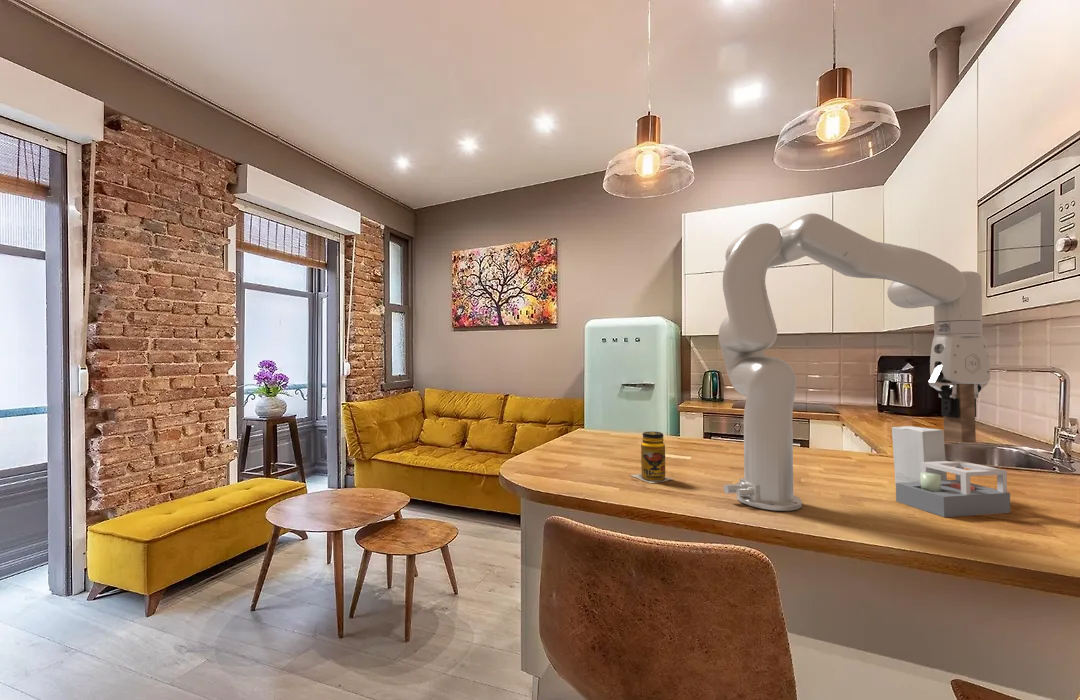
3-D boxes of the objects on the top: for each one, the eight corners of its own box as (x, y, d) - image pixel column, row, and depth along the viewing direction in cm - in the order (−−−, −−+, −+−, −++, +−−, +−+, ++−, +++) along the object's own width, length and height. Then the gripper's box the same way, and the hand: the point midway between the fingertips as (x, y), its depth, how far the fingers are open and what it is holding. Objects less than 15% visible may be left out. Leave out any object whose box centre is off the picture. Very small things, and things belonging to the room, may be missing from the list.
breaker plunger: (965, 503, 93) (964, 487, 93) (946, 498, 97) (946, 483, 97) (979, 502, 94) (979, 486, 94) (960, 497, 97) (960, 482, 97)
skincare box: (948, 495, 103) (947, 430, 103) (925, 496, 102) (924, 430, 102) (913, 485, 111) (912, 424, 111) (891, 486, 110) (891, 425, 110)
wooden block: (961, 442, 93) (959, 375, 94) (944, 439, 97) (942, 374, 97) (975, 442, 94) (973, 375, 94) (957, 439, 97) (955, 374, 98)
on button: (932, 494, 92) (931, 476, 92) (916, 490, 95) (916, 472, 95) (945, 494, 93) (944, 476, 93) (929, 489, 96) (929, 472, 96)
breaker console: (944, 517, 88) (943, 474, 89) (896, 501, 98) (895, 462, 98) (1010, 512, 91) (1009, 471, 91) (957, 497, 101) (956, 460, 101)
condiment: (651, 483, 112) (651, 435, 112) (630, 476, 120) (629, 430, 120) (673, 480, 116) (673, 433, 116) (651, 472, 123) (650, 428, 123)
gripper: (943, 328, 91) (944, 419, 91) (1010, 330, 94) (1011, 418, 93) (907, 331, 98) (908, 415, 98) (970, 332, 101) (971, 414, 101)
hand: (958, 415), depth 96 cm, fingers closed on wooden block, 3 cm apart
